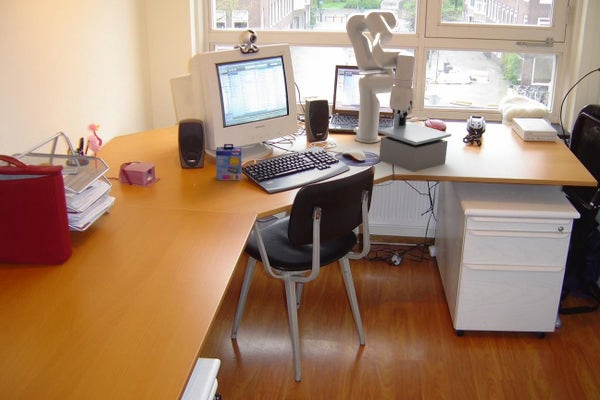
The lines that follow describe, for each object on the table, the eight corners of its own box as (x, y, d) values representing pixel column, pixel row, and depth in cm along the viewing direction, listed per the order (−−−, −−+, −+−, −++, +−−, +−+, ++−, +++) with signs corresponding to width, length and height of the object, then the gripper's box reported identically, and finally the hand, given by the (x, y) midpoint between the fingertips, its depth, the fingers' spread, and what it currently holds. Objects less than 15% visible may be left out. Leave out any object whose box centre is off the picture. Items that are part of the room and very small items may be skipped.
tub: (379, 159, 290) (380, 137, 286) (410, 152, 301) (412, 130, 298) (413, 171, 275) (415, 148, 271) (445, 163, 287) (447, 140, 283)
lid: (377, 134, 286) (378, 116, 283) (412, 127, 299) (413, 109, 296) (415, 147, 270) (417, 127, 267) (450, 139, 283) (452, 120, 280)
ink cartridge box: (216, 180, 259) (215, 144, 254) (216, 176, 264) (215, 140, 259) (241, 180, 260) (241, 144, 254) (241, 175, 265) (241, 140, 260)
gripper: (384, 80, 286) (381, 122, 293) (411, 87, 275) (407, 130, 282) (396, 79, 291) (392, 120, 297) (423, 85, 279) (419, 128, 286)
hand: (399, 124), depth 289 cm, fingers closed on lid, 1 cm apart
